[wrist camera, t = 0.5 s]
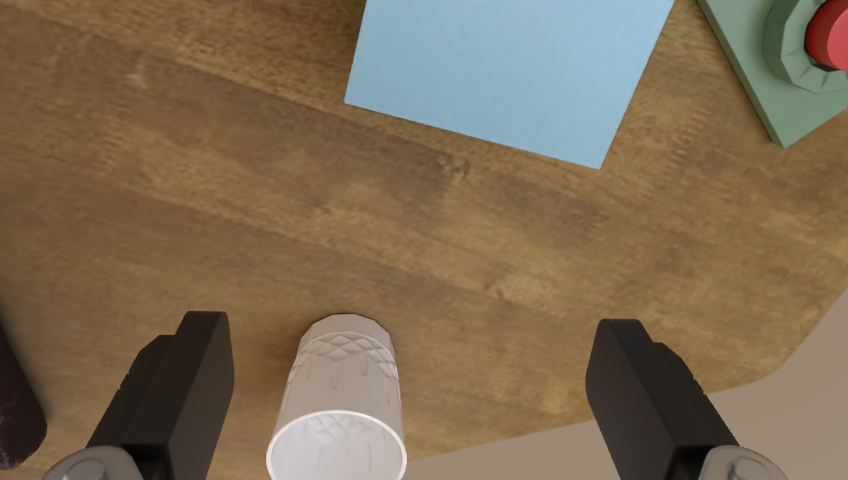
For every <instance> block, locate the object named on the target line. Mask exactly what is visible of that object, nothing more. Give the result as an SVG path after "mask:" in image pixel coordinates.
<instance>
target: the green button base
mask: <svg viewBox="0 0 848 480" xmlns="http://www.w3.org/2000/svg"><path fill="white" fill-rule="evenodd" d="M697 1H698V3H699V5H700V7H701V9H702V11H703V12H704V14H705V16H706V18H707V20H708V22H709V24H710V25H711V27H712V29H713V31H714V33H715V35H716V37H717V38H718V40H719V42H720V44H721V46H722V48H723V50H724V52H725V53H726V55H727V57H728V59H729V61H730V63H731V65H732V66H733V68H734V70H735V72H736V74H737V76H738V78H739V79H740V81H741V83H742V85H743V87H744V89H745V91H746V92H747V94H748V96H749V98H750V100H751V102H752V104H753V106H754V107H755V109H756V111H757V113H758V115H759V117H760V119H761V120H762V122H763V124H764V126H765V128H766V130H767V132H768V133H769V135H770V137H771V139H772V141H773V143H775V144H777V145H778V146H780V147H782V148H784V149H785V148H787V147H788V146H790V145H791V144H793V143H794V142H796V141H797V140H799V139H800V138H802V137H803V136H805V135H807V134H808V133H810V132H811V131H813V130H814V129H816V128H817V127H819V126H820V125H822V124H823V123H825V122H826V121H828V120H829V119H831V118H832V117H834V116H835V115H837V114H838V113H840V112H841V111H843V110H844V109H846V108H847V107H848V71H843V70H840V69H837V68H834V67H831V66H827V65H824V64H821V63H819V62H817V61H815V60H814V59H813V58H812V57H811V56H810V54H809V53H808V50H807V47H806V33H807V29H808V26H809V24H810V22H811V20H812V18H813V17H814V15H815V14H816V12H817V11H818V10H819V9H820V8H821V7H822V6H823V5H824V4H825V3H826V2H828V1H829V0H697Z"/></svg>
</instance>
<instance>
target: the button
mask: <svg viewBox="0 0 848 480" xmlns="http://www.w3.org/2000/svg"><path fill="white" fill-rule="evenodd" d="M806 47H807V50H808V53H809V54H810V56H811V57H812V58H813V59H814V60H815V61H817V62H819V63H821V64H824V65H827V66H831V67H834V68H837V69H840V70H843V71H848V0H829V1H828V2H826V3H825V4H824V5H823V6H822V7H821V8H820V9H819V10H818V11H817V12H816V14H815V15H814V17H813V18H812V20H811V22H810V24H809V26H808V29H807V33H806Z"/></svg>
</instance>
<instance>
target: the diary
mask: <svg viewBox="0 0 848 480" xmlns="http://www.w3.org/2000/svg"><path fill="white" fill-rule="evenodd" d="M46 432H47V422H46V420H45V418H44V416H43V414H42V412H41V410H40V408H39V406H38V404H37V402H36V400H35V398H34V396H33V394H32V392H31V390H30V389H29V387H28V385H27V383H26V381H25V379H24V377H23V375H22V373H21V371H20V369H19V367H18V365H17V363H16V361H15V360H14V358H13V356H12V354H11V352H10V349H9V347H8V345H7V343H6V340H5V338H4V336H3V333H2V331H1V329H0V470H12V469H14V468H16V467H18V466H19V465H20V464H21V463H23V462H24V461H25V460H26V459H27V458H28V457H30V456H31V455H32V454H33V453H34V452H35V451H37V449H38V448H39V446H40V445H41V443H42V442H43V440H44V439H45V437H46Z"/></svg>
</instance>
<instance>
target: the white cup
mask: <svg viewBox="0 0 848 480" xmlns="http://www.w3.org/2000/svg"><path fill="white" fill-rule="evenodd" d="M266 463H267V468H268V472H269V474H270V476H271V478H272V480H401V478H402V477H403V475H404V472H405V469H406V464H407V455H406V445H405V435H404V424H403V413H402V403H401V394H400V387H399V378H398V372H397V367H396V361H395V350H394V347H393V344H392V342H391V339H390V336H389V334H388V333H387V332H386V331H385V330H384V329H383V328H382V327H381V326H380V325H379V324H378V323H376V322H375V321H374V320H371V319H368V318H365V317H362V316H359V315H356V314H339V315H331V316H329V317H326V318H324V319H322V320H320V321H318V322H316V323H314V324H312V326H311V327H310V328H309V329H308V331H307V332H306V333H305V334H304V336H303V337H302V338H301V341H300V344H299V348H298V352H297V356H296V359H295V362H294V364H293V366H292V368H291V371H290V374H289V377H288V381H287V384H286V386H285V390H284V393H283V397H282V400H281V404H280V407H279V411H278V415H277V418H276V422H275V426H274V429H273V433H272V436H271V440H270V443H269V447H268V450H267V456H266Z"/></svg>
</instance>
